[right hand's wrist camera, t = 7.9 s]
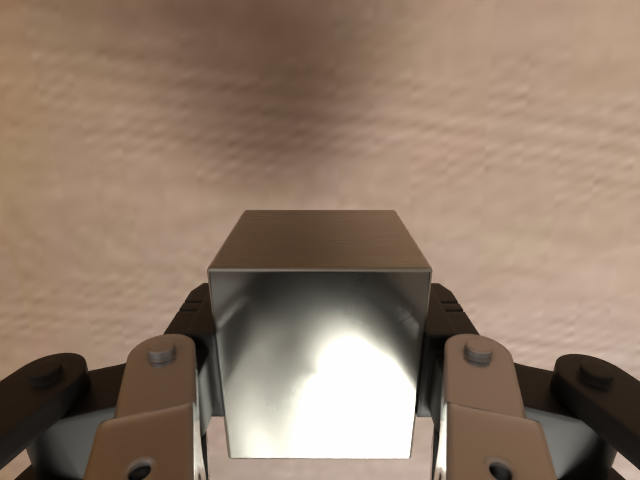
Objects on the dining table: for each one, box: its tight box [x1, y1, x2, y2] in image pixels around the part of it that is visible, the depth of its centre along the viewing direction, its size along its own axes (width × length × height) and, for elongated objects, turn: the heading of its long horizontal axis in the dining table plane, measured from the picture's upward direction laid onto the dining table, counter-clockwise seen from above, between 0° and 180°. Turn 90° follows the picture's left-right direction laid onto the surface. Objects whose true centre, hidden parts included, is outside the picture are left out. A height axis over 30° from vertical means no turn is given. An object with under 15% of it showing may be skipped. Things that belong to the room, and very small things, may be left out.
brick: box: [207, 210, 432, 459], centre depth 10 cm, size 5×4×4 cm
